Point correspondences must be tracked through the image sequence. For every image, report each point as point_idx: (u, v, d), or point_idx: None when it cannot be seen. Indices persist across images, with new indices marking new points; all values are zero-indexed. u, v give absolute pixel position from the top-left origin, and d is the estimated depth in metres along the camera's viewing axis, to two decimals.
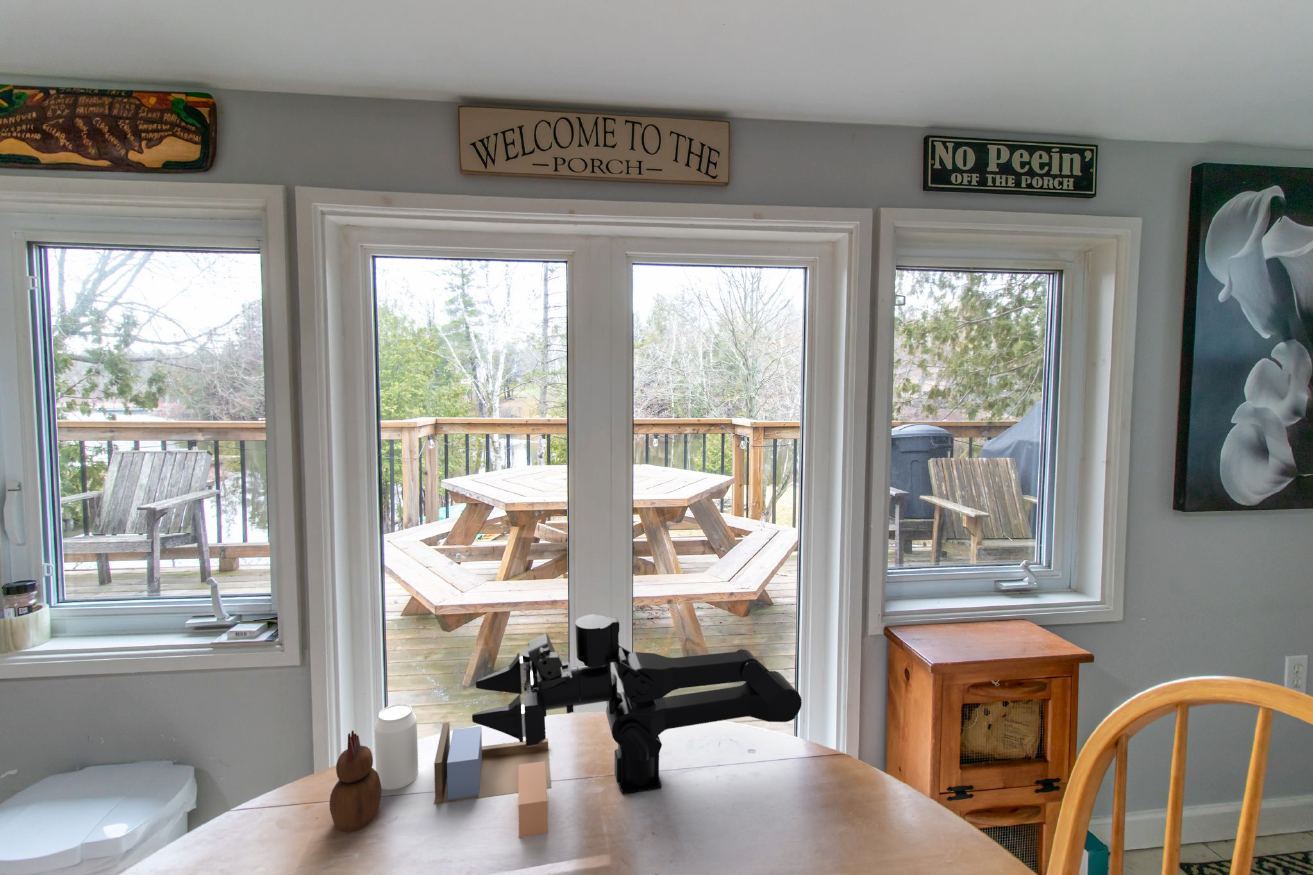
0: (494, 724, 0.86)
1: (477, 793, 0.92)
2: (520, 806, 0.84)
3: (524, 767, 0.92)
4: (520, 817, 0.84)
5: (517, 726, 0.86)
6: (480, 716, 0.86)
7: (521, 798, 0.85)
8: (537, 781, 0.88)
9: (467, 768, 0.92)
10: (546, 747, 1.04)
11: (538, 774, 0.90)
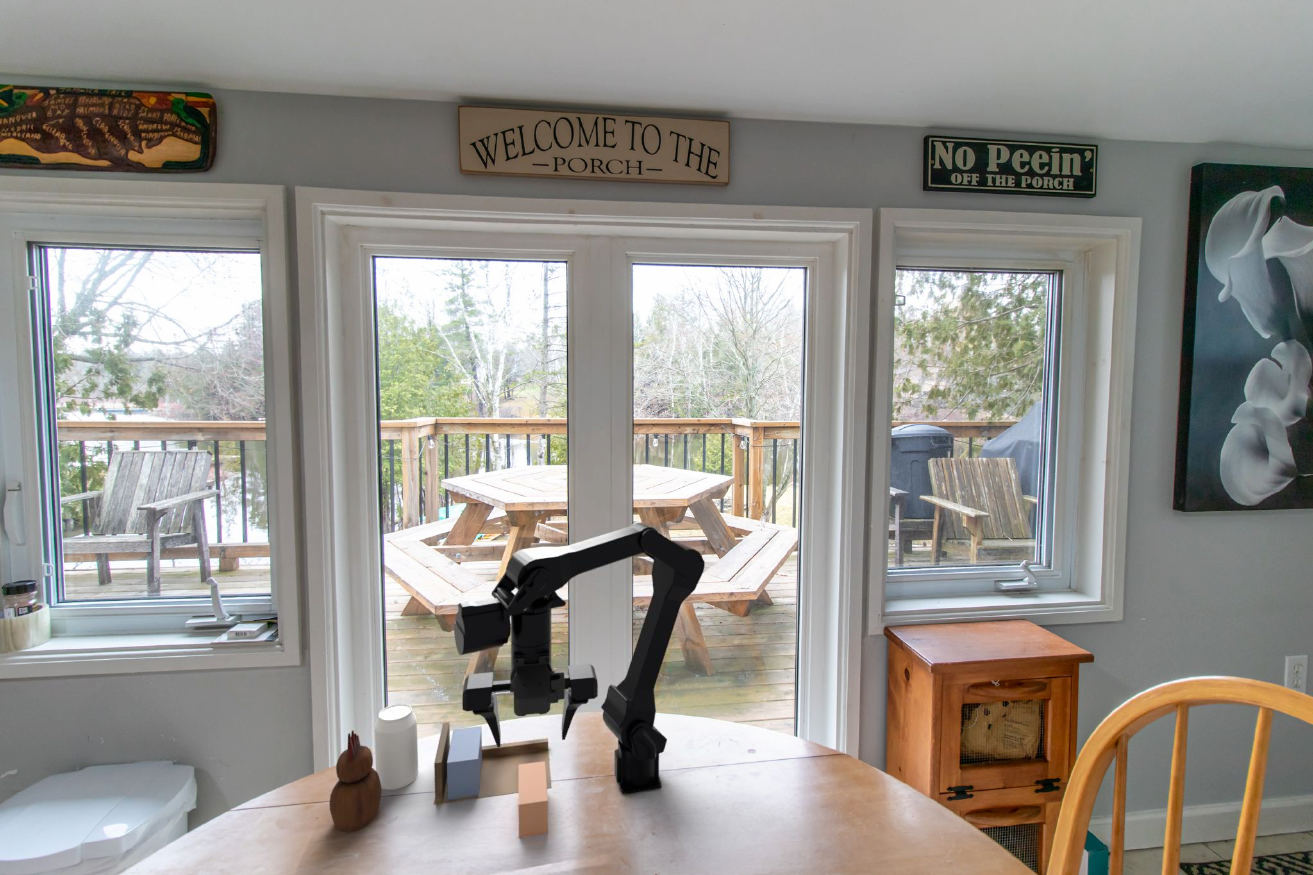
0: None
1: (477, 793, 0.92)
2: (520, 806, 0.84)
3: (524, 767, 0.92)
4: (520, 817, 0.84)
5: None
6: None
7: (521, 798, 0.85)
8: (537, 781, 0.88)
9: (467, 768, 0.92)
10: (546, 747, 1.04)
11: (538, 774, 0.90)
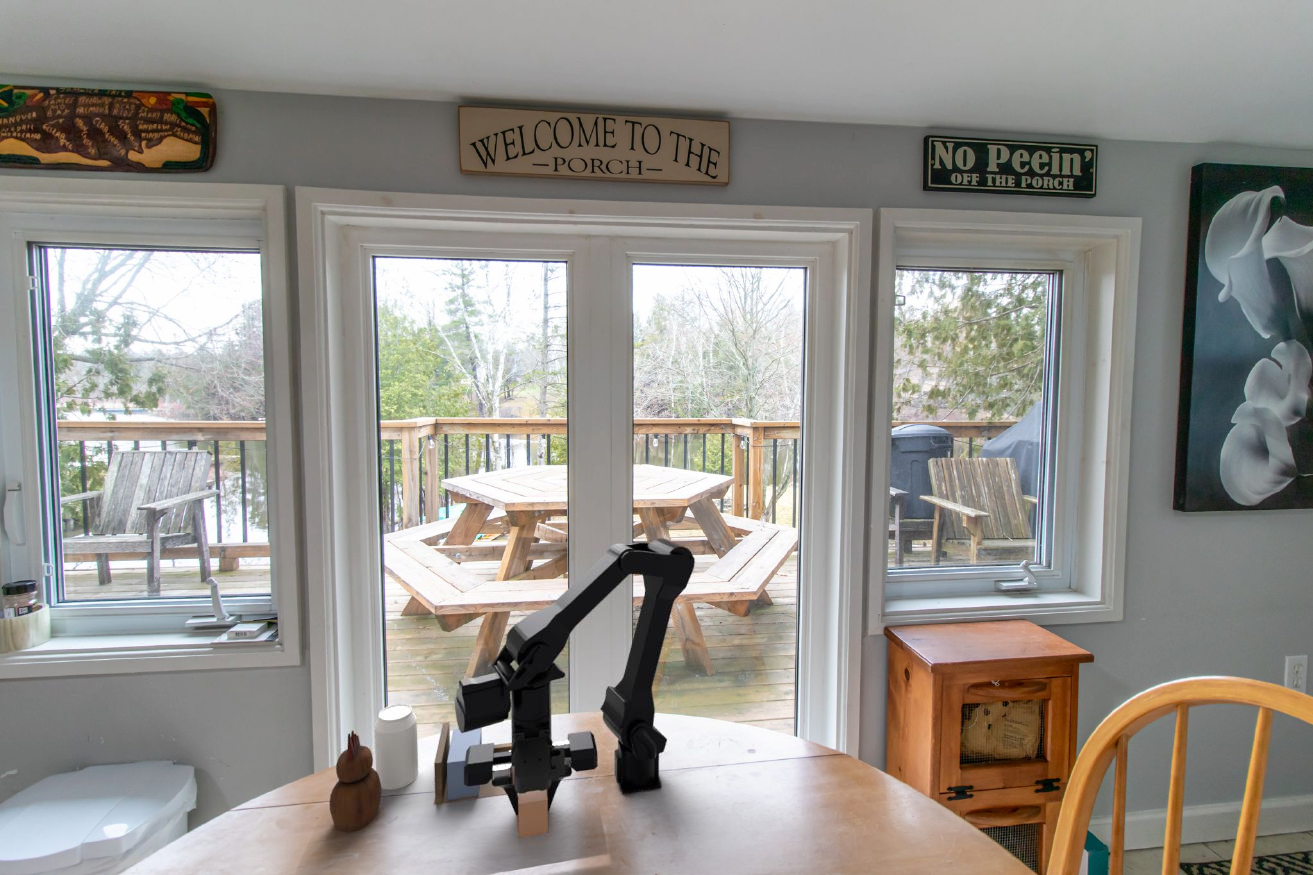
0: None
1: (477, 793, 0.92)
2: (519, 805, 0.84)
3: None
4: (520, 816, 0.84)
5: None
6: None
7: (521, 798, 0.85)
8: None
9: None
10: None
11: None
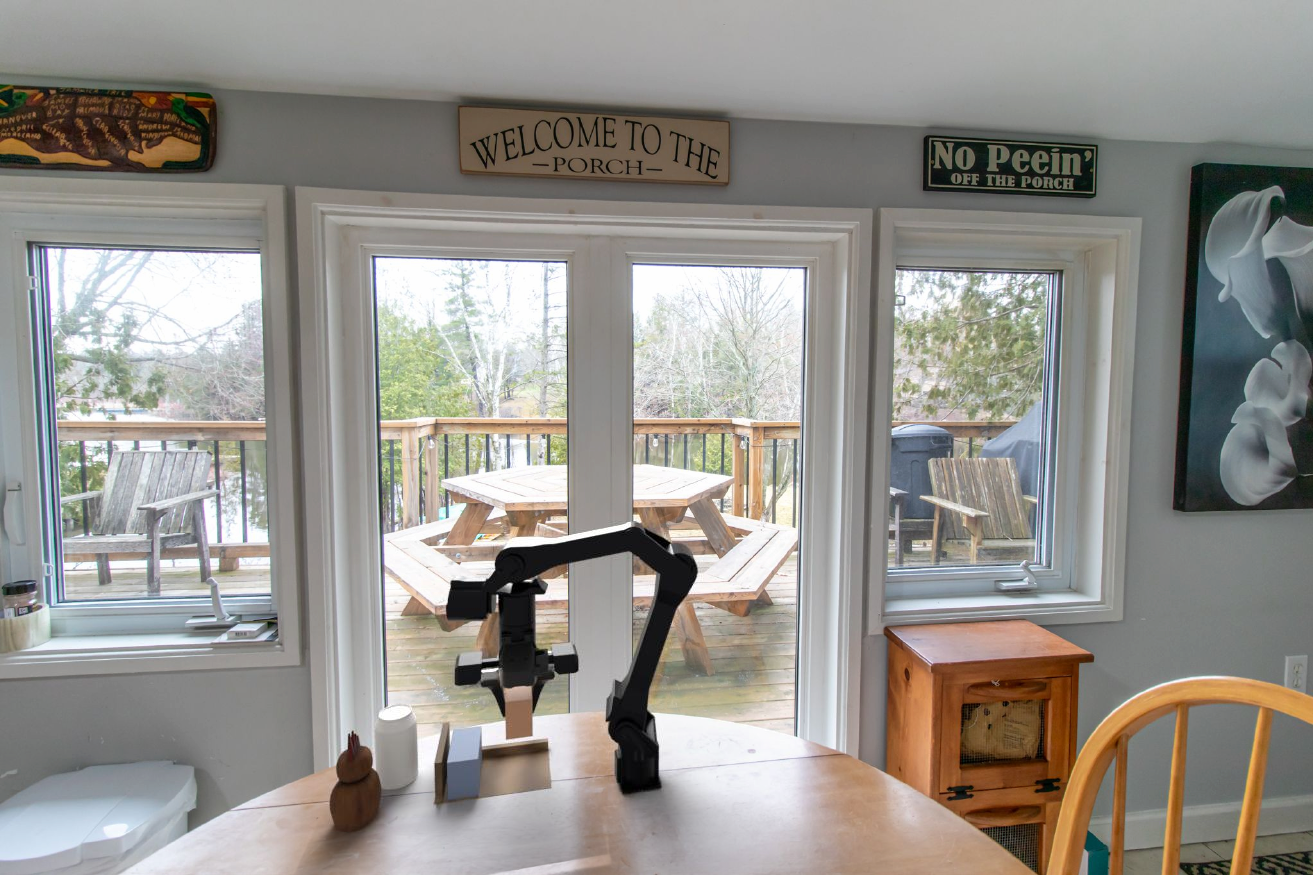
0: None
1: (477, 793, 0.92)
2: (506, 703, 0.91)
3: None
4: (507, 714, 0.91)
5: None
6: (535, 706, 0.96)
7: (507, 697, 0.92)
8: (522, 686, 0.96)
9: (467, 768, 0.92)
10: (546, 747, 1.04)
11: None
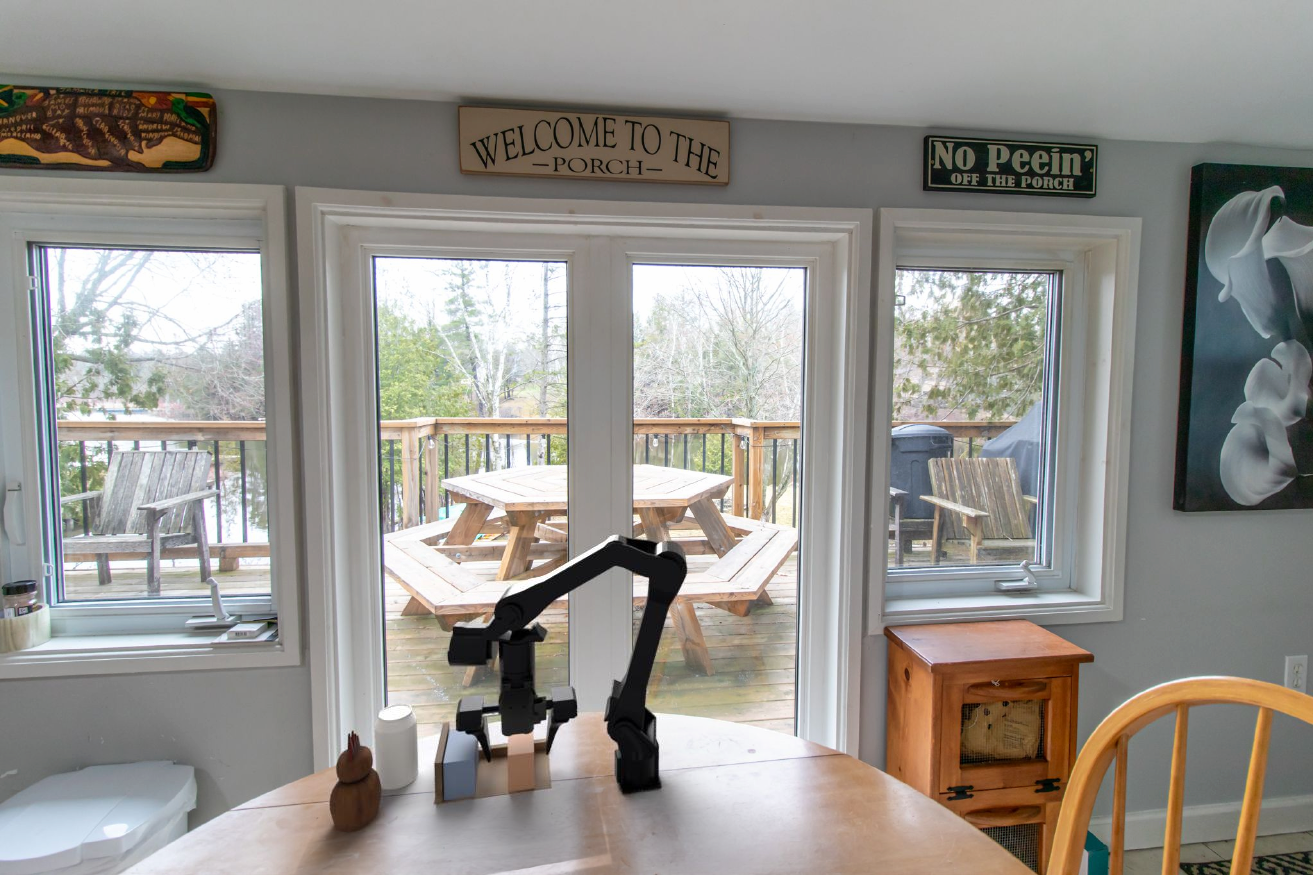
0: None
1: (473, 793, 0.92)
2: (509, 757, 0.93)
3: None
4: (509, 767, 0.93)
5: None
6: (550, 747, 0.99)
7: (510, 750, 0.94)
8: (525, 737, 0.98)
9: (464, 769, 0.92)
10: None
11: None
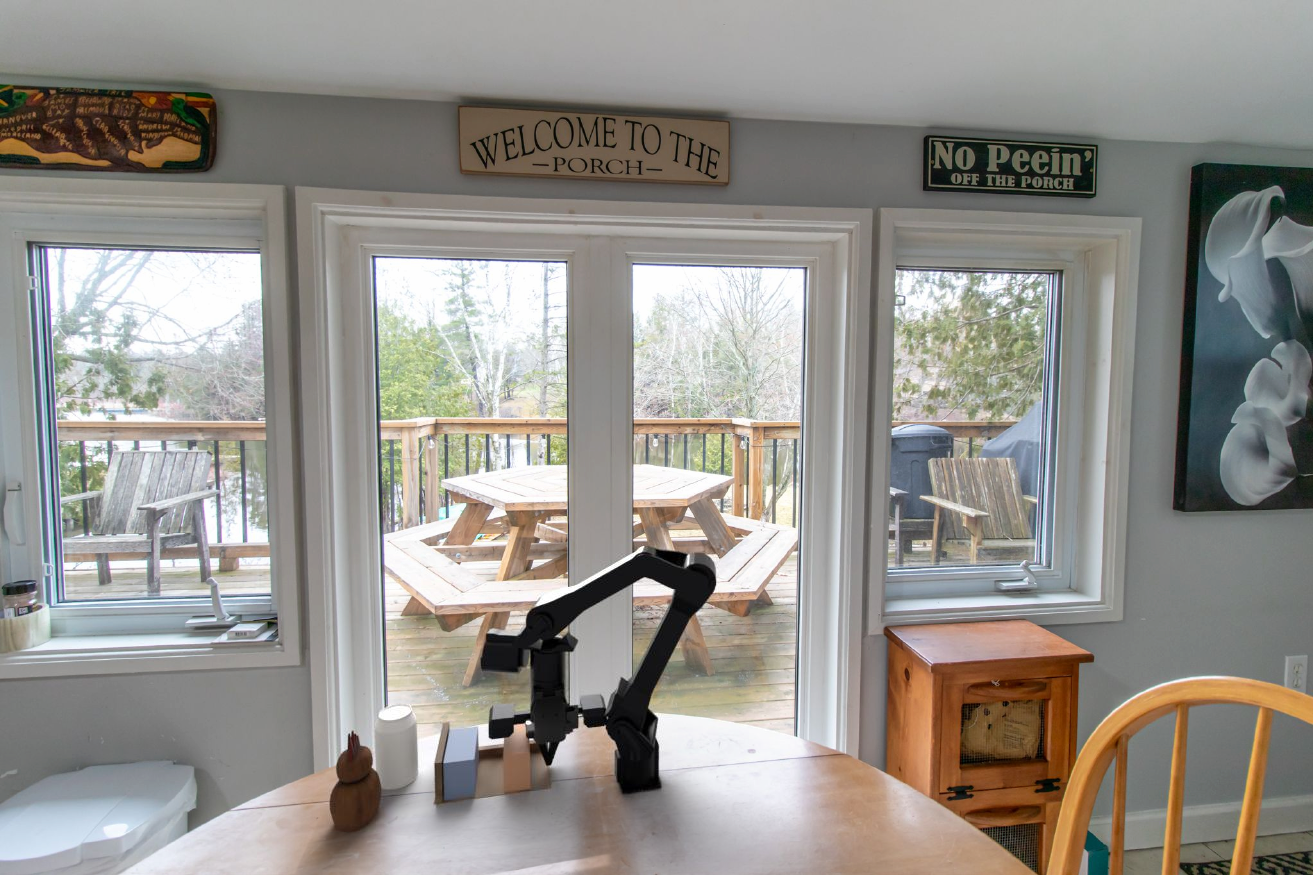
0: None
1: (473, 793, 0.92)
2: (504, 757, 0.93)
3: None
4: (505, 767, 0.93)
5: None
6: None
7: (506, 751, 0.94)
8: (521, 737, 0.97)
9: (464, 769, 0.92)
10: None
11: (522, 731, 0.99)
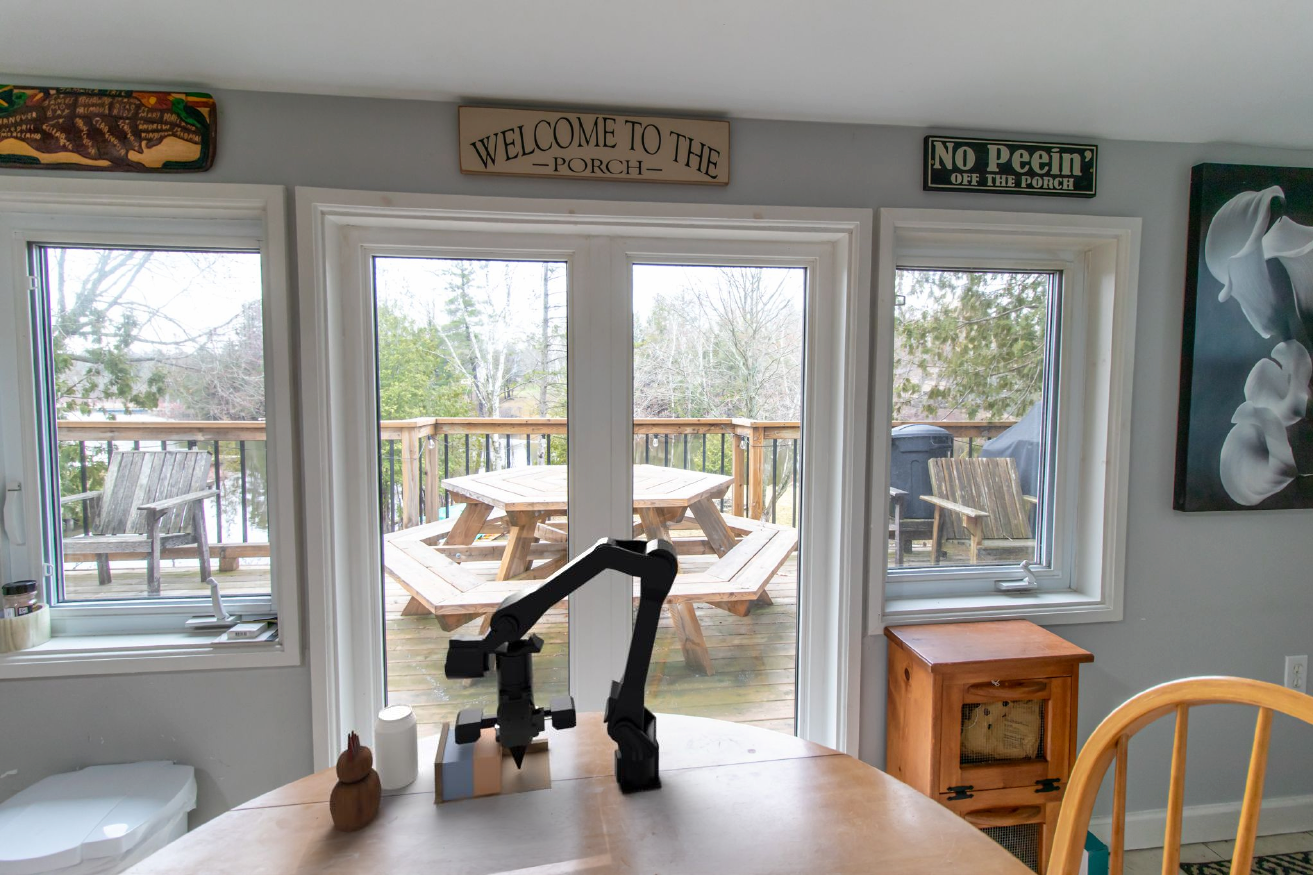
0: None
1: (472, 794, 0.92)
2: (474, 760, 0.92)
3: None
4: (474, 770, 0.92)
5: None
6: (521, 761, 0.98)
7: (476, 754, 0.93)
8: (492, 740, 0.97)
9: (462, 769, 0.92)
10: (546, 747, 1.04)
11: (494, 734, 0.98)
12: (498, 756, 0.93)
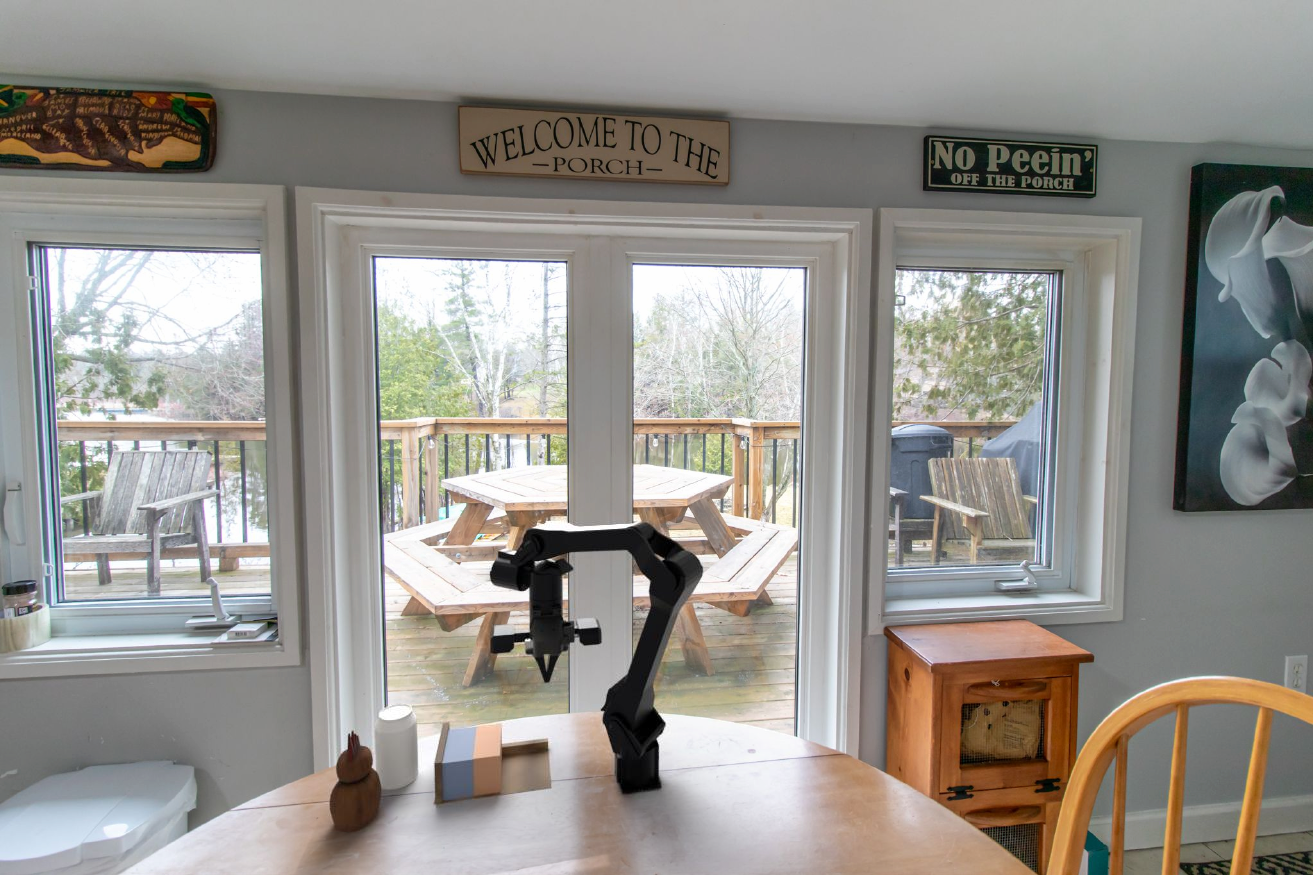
0: None
1: (472, 794, 0.92)
2: (474, 760, 0.92)
3: (482, 728, 1.00)
4: (474, 770, 0.92)
5: None
6: (551, 675, 1.05)
7: (476, 754, 0.93)
8: (492, 740, 0.97)
9: (462, 769, 0.92)
10: (546, 747, 1.04)
11: (494, 734, 0.98)
12: (498, 756, 0.93)
